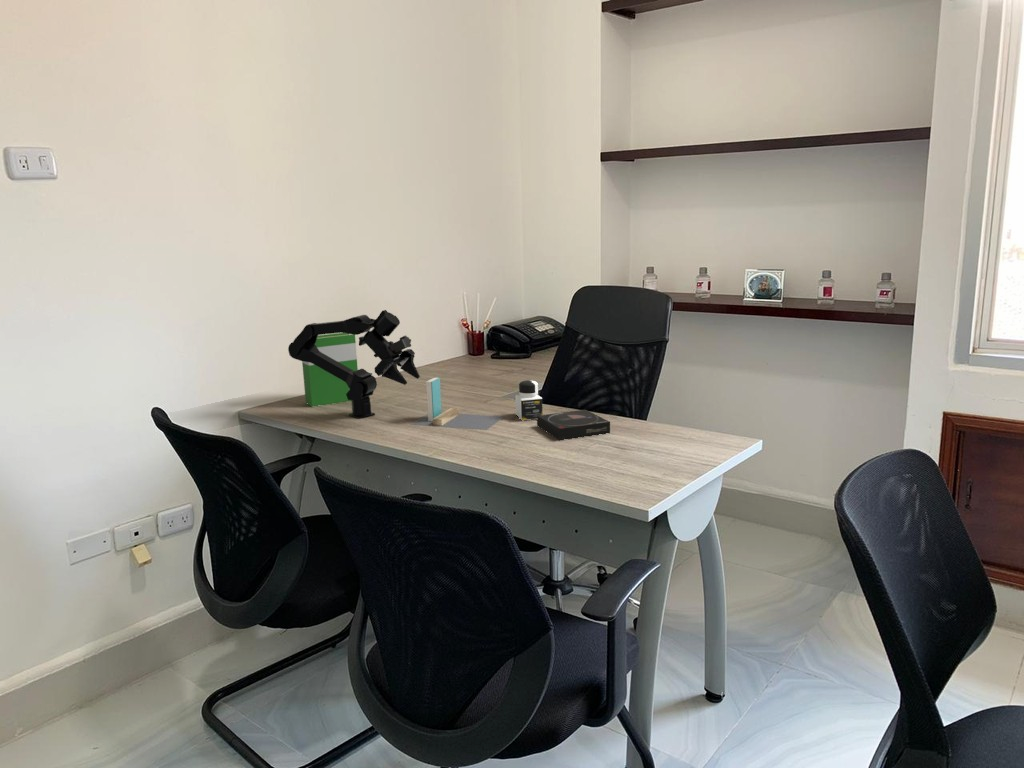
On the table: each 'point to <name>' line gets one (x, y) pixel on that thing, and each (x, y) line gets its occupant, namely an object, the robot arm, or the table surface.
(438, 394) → the tile
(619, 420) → the table surface
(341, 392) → the hardback book
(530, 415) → the medicine bottle
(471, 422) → the mat
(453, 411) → the ledge
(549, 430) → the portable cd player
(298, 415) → the table surface
